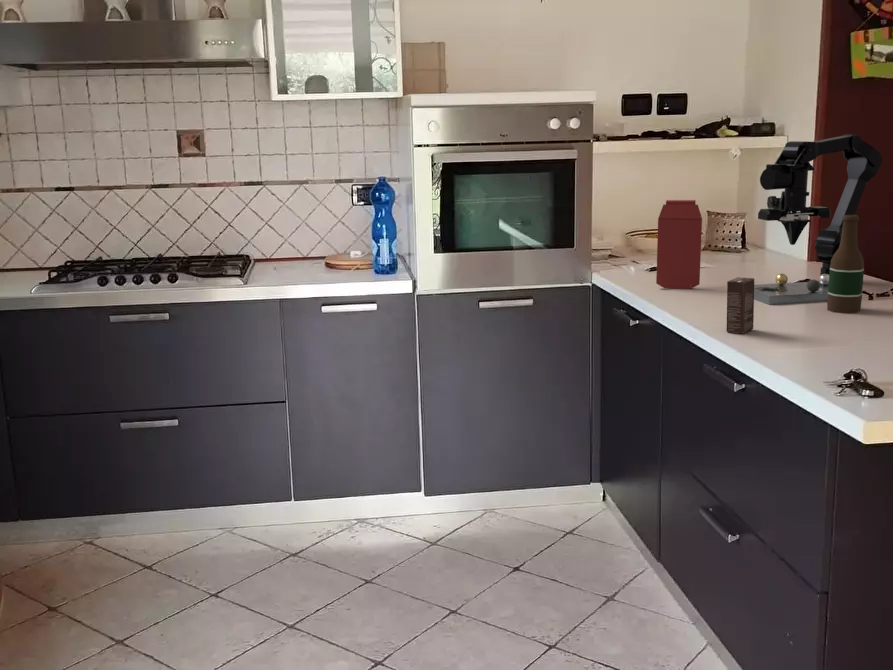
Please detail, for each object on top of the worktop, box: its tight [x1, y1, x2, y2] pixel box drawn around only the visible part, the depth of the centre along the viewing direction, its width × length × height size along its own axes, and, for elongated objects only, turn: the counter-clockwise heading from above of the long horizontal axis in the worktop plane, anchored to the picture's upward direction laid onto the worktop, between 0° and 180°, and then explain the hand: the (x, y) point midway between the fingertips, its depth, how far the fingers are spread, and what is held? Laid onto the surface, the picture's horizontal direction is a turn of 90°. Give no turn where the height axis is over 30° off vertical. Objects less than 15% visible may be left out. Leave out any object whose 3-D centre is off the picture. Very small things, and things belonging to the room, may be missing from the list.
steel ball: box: [818, 274, 829, 285], centre depth 246 cm, size 3×3×3 cm
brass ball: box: [775, 273, 789, 285], centre depth 248 cm, size 3×3×3 cm
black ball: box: [807, 279, 820, 292], centre depth 238 cm, size 3×3×3 cm
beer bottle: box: [826, 214, 865, 314], centre depth 222 cm, size 8×8×24 cm
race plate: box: [754, 280, 829, 306], centre depth 244 cm, size 23×16×2 cm
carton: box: [655, 199, 703, 290], centre depth 260 cm, size 12×5×25 cm, turn 74°
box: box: [726, 276, 755, 335], centre depth 206 cm, size 6×4×12 cm
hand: (792, 244), depth 251 cm, fingers closed
